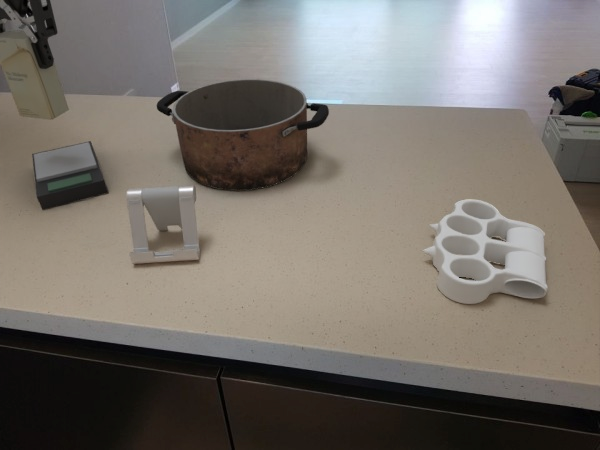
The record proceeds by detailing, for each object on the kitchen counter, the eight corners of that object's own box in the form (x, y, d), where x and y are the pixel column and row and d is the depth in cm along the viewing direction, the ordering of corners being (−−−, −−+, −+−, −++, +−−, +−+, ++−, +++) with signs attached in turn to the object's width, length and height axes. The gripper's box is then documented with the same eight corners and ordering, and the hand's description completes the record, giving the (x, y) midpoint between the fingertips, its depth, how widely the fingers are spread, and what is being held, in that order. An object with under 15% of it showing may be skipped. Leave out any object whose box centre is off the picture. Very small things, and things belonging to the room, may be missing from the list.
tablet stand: (133, 267, 60) (116, 215, 55) (145, 230, 66) (130, 181, 61) (198, 262, 60) (187, 211, 55) (204, 227, 67) (195, 178, 62)
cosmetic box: (20, 117, 72) (-14, 36, 65) (39, 106, 75) (9, 28, 68) (54, 120, 71) (23, 38, 63) (72, 109, 74) (45, 30, 67)
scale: (37, 166, 83) (30, 150, 81) (94, 152, 86) (89, 137, 84) (42, 210, 71) (35, 193, 69) (108, 192, 75) (103, 176, 73)
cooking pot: (340, 140, 88) (342, 86, 81) (308, 204, 71) (307, 141, 64) (200, 124, 95) (191, 73, 89) (140, 178, 78) (124, 120, 72)
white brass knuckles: (542, 324, 51) (410, 291, 55) (539, 230, 64) (433, 210, 68) (551, 303, 49) (414, 271, 53) (546, 211, 62) (436, 191, 66)
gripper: (-92, -64, 57) (-30, 70, 67) (0, -63, 54) (50, 77, 64) (-41, -69, 63) (9, 55, 73) (45, -69, 59) (85, 61, 70)
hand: (28, 65), depth 68 cm, fingers closed on cosmetic box, 6 cm apart
